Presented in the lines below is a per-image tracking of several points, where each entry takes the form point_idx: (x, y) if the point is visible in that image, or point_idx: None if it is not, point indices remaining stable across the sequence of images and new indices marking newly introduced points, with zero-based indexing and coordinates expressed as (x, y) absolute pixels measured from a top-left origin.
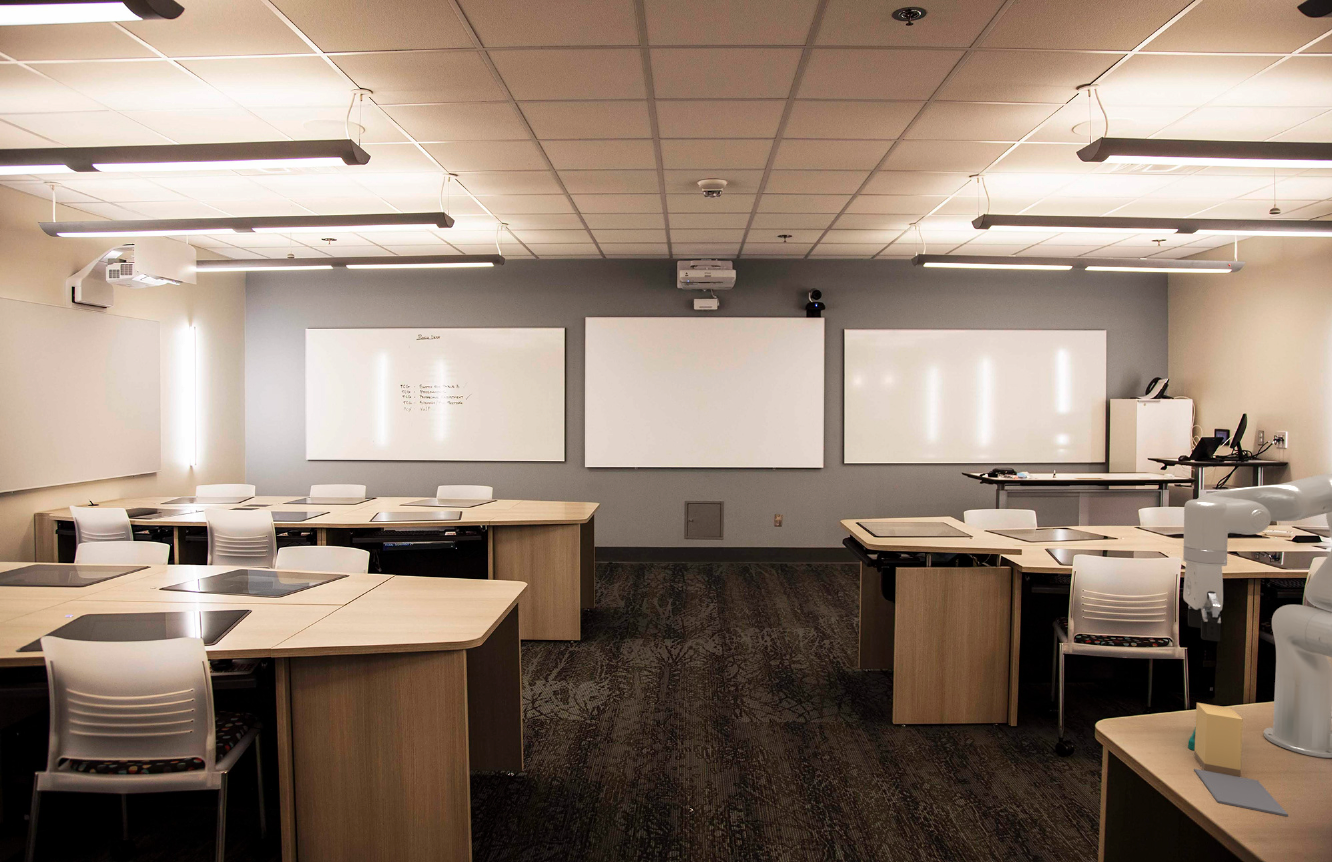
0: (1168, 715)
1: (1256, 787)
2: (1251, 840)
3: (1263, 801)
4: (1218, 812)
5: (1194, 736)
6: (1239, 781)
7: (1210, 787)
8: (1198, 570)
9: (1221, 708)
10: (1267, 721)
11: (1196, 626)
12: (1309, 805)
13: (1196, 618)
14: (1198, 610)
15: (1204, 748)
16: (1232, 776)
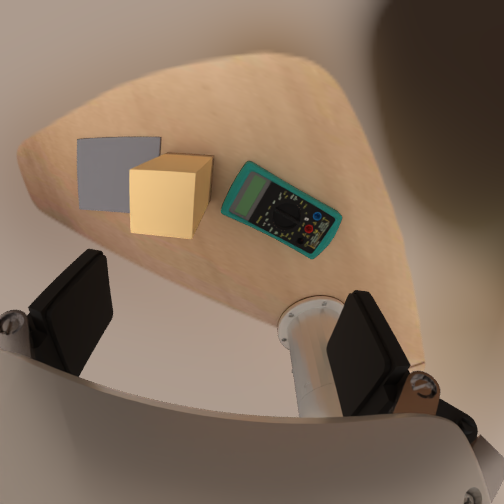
0: (385, 194)
1: None
2: (25, 150)
3: (97, 194)
4: (58, 133)
5: (272, 181)
6: None
7: (106, 140)
8: None
9: (178, 216)
10: None
11: (339, 319)
12: (120, 246)
13: (353, 352)
14: (365, 402)
15: (159, 157)
16: None
